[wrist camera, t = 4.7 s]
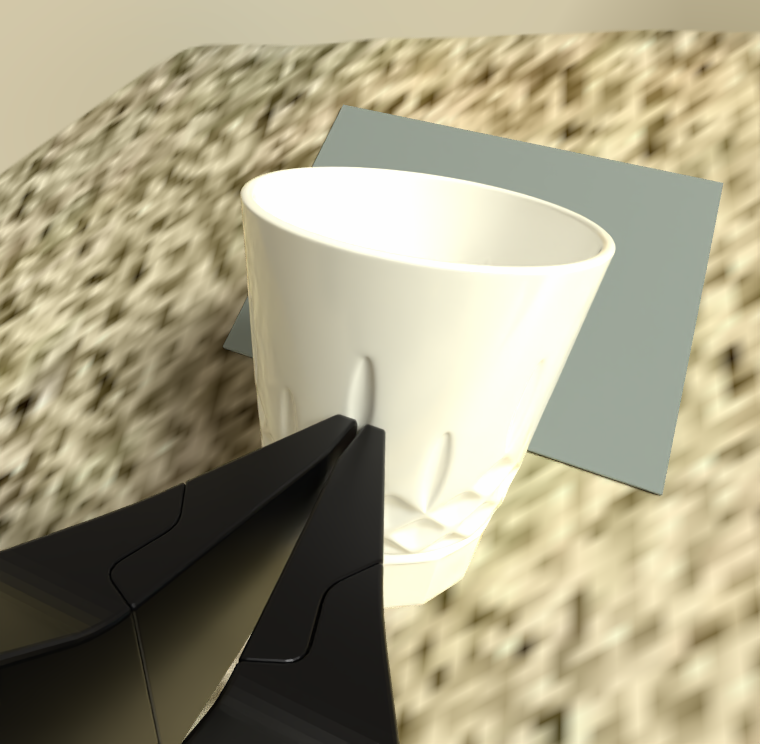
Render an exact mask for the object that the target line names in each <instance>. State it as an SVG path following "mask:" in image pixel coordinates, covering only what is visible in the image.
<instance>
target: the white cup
mask: <svg viewBox="0 0 760 744" xmlns="http://www.w3.org/2000/svg"><path fill="white" fill-rule="evenodd" d="M240 196H241V208H242V220H243V232H244V245H245V257H246V270H247V283H248V297H249V311H250V325H251V339H252V352H253V366H254V378H255V386H256V391H257V402H258V413H259V421H260V428H261V432H260V433H261V442H262V447H264V446H267V445H269V444H271V443H273V442H276V441H278V440H280V439H282V438H284V437H287V436H289V435H291V434H293V433H296V432H298V431H300V430H302V429H305V428H307V427H309V426H311V425H314V424H316V423H318V422H320V421H323V420H325V419H327V418H329V417H332V416H334V415H337V414H341V415H344V416H347V417H350V418H352V419H355V420H356V421H357V425H358V426H357V433H356V435H357V434H358V433H359V431H360V430H361V429H362V428H363V426H365V425H366V424H370V425H373V426H376V427H378V428H381V429H384V430H385V432H386V441H385V500H384V560H383V567H384V573H383V598H384V608H395V607H405V606H417V605H423V604H425V603H426V602H428V601H429V600H431V599H432V598H434V597H435V596H437V595H439V594H440V593H442V592H443V591H445V590H446V589H448V588H449V587H451V586H453V585H454V584H456V583H457V582H459V581H460V580H462V579H463V577H464V575H465V573H466V571H467V569H468V566H469V564H470V562H471V560H472V558H473V556H474V553H475V551H476V549H477V547H478V545H479V543H480V540H481V538H482V536H483V533H484V531H485V528H486V526H487V524H488V523H489V521H490V519H491V517H492V515H493V513H494V512H495V511H496V510H497V509H498V508H499V507H500V506H501V504H502V503H503V500H504V498H505V496H506V493H507V491H508V488H509V486H510V484H511V482H512V480H513V479H514V477H515V475H516V473H517V471H518V469H519V468H520V466H521V464H522V461H523V459H524V456H525V454H526V452H527V449H528V447H529V445H530V442H531V440H532V438H533V435H534V433H535V431H536V429H537V426H538V424H539V422H540V419H541V417H542V415H543V413H544V410H545V408H546V406H547V403H548V401H549V399H550V397H551V395H552V393H553V391H554V389H555V387H556V384H557V382H558V380H559V377H560V375H561V373H562V371H563V368H564V366H565V364H566V361H567V359H568V357H569V355H570V352H571V350H572V348H573V346H574V343H575V341H576V339H577V336H578V334H579V332H580V330H581V327H582V325H583V323H584V321H585V318H586V316H587V314H588V312H589V309H590V307H591V305H592V303H593V300H594V298H595V296H596V294H597V292H598V289H599V287H600V285H601V283H602V280H603V278H604V276H605V274H606V271H607V269H608V267H609V265H610V262H611V260H612V258H613V256H614V253H615V249H616V246H615V243H614V240H613V239H612V237H611V236H610V235H609V234H608V233H607V232H606V231H605V230H604V229H603V228H601V227H600V226H599V225H597V224H596V223H594V222H593V221H591V220H589V219H587V218H585V217H583V216H581V215H579V214H577V213H575V212H573V211H571V210H568V209H566V208H563V207H561V206H558V205H556V204H553V203H550V202H547V201H544V200H541V199H538V198H535V197H532V196H528V195H525V194H521V193H518V192H514V191H510V190H507V189H503V188H499V187H494V186H490V185H486V184H481V183H476V182H471V181H466V180H461V179H455V178H450V177H444V176H438V175H431V174H424V173H416V172H408V171H399V170H389V169H378V168H362V167H306V168H295V169H287V170H280V171H275V172H271V173H267V174H263V175H261V176H258V177H256V178H254V179H252V180H250V181H249V182H247V183H246V184H245V185H244V186H243V188H242V190H241V194H240Z"/></svg>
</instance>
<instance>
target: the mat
mask: <svg viewBox="0 0 760 744" xmlns="http://www.w3.org/2000/svg"><path fill="white" fill-rule="evenodd" d="M312 167H362V168H378V169H389V170H399V171H408V172H416V173H424V174H431V175H438V176H444V177H450V178H455V179H461V180H466V181H471V182H476V183H481V184H486V185H490V186H494V187H499V188H503V189H507V190H510V191H514V192H518V193H521V194H525V195H528V196H532V197H535V198H538V199H541V200H544V201H547V202H550V203H553V204H556V205H558V206H561V207H563V208H566V209H568V210H571V211H573V212H575V213H577V214H579V215H581V216H583V217H585V218H587V219H589V220H591V221H593V222H594V223H596V224H597V225H599V226H600V227H601V228H603V229H604V230H605V231H606V232H607V233H608V234H609V235H610V236H611V237H612V239H613V240H614V243H615V246H616V249H615V253H614V256H613V258H612V260H611V262H610V265H609V267H608V269H607V271H606V274H605V276H604V278H603V280H602V283H601V285H600V287H599V289H598V292H597V294H596V296H595V298H594V300H593V303H592V305H591V307H590V309H589V312H588V314H587V316H586V318H585V321H584V323H583V325H582V327H581V330H580V332H579V334H578V336H577V339H576V341H575V343H574V346H573V348H572V350H571V352H570V355H569V357H568V359H567V361H566V364H565V366H564V368H563V371H562V373H561V375H560V377H559V380H558V382H557V384H556V387H555V389H554V391H553V393H552V395H551V397H550V399H549V401H548V403H547V406H546V408H545V410H544V413H543V415H542V417H541V419H540V422H539V424H538V426H537V429H536V431H535V433H534V435H533V438H532V440H531V442H530V445H529V447H528V449H527V451H530V452H533V453H536V454H539V455H542V456H544V457H547V458H550V459H553V460H556V461H559V462H562V463H565V464H568V465H571V466H574V467H577V468H580V469H583V470H586V471H589V472H592V473H595V474H598V475H601V476H604V477H607V478H610V479H613V480H616V481H619V482H622V483H624V484H627V485H630V486H633V487H636V488H639V489H642V490H645V491H648V492H651V493H654V494H657V495H662V494H663V488H664V483H665V478H666V473H667V468H668V463H669V458H670V453H671V448H672V442H673V437H674V432H675V427H676V422H677V417H678V412H679V407H680V402H681V396H682V391H683V386H684V381H685V376H686V371H687V366H688V361H689V356H690V350H691V345H692V340H693V335H694V330H695V325H696V320H697V315H698V310H699V304H700V299H701V294H702V289H703V284H704V279H705V274H706V269H707V264H708V258H709V253H710V248H711V243H712V238H713V233H714V228H715V223H716V218H717V212H718V207H719V202H720V197H721V192H722V187H723V183H720V182H716V181H711V180H706V179H701V178H696V177H691V176H687V175H682V174H677V173H672V172H667V171H662V170H657V169H653V168H648V167H643V166H638V165H633V164H628V163H623V162H619V161H614V160H609V159H604V158H599V157H594V156H590V155H585V154H580V153H575V152H570V151H565V150H560V149H556V148H551V147H546V146H541V145H536V144H531V143H527V142H522V141H517V140H512V139H507V138H502V137H497V136H493V135H488V134H483V133H478V132H473V131H468V130H463V129H459V128H454V127H449V126H444V125H439V124H434V123H430V122H425V121H420V120H415V119H410V118H405V117H400V116H396V115H391V114H386V113H381V112H376V111H371V110H366V109H362V108H357V107H352V106H347V105H343V106H342V108H341V110H340V112H339V114H338V116H337V118H336V120H335V122H334V124H333V126H332V128H331V130H330V132H329V134H328V136H327V138H326V140H325V142H324V144H323V146H322V148H321V150H320V152H319V154H318V156H317V158H316V160H315V162H314V164H313V166H312ZM223 348H225V349H228V350H230V351H233V352H236V353H239V354H242V355H245V356H248V357H251V358H253V352H252V339H251V325H250V311H249V297H247V299H246V301H245V303H244V305H243V307H242V309H241V311H240V313H239V315H238V317H237V319H236V321H235V323H234V325H233V327H232V329H231V331H230V333H229V335H228V337H227V339H226V341H225V343H224V345H223Z"/></svg>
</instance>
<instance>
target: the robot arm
mask: <svg viewBox="0 0 760 744" xmlns="http://www.w3.org/2000/svg"><path fill="white" fill-rule="evenodd" d="M357 426H358V425H357V421H356V420H355V419H352V418H350V417H347V416H344V415H341V414H337V415H334V416H332V417H329V418H327V419H325V420H323V421H320V422H318V423H316V424H314V425H311V426H309V427H307V428H305V429H302V430H300V431H298V432H296V433H293V434H291V435H289V436H287V437H284V438H282V439H280V440H278V441H276V442H273V443H271V444H269V445H267V446H264V447H262V448H260V449H258V450H255V451H253V452H251V453H249V454H246V455H244V456H242V457H240V458H237V459H235V460H233V461H231V462H228V463H226V464H224V465H222V466H219V467H217V468H215V469H213V470H210V471H208V472H206V473H204V474H201V475H199V476H197V477H195V478H192V479H190V480H188V481H187V482H186V484H184V483H181V484H178V485H176V486H174V487H172V488H169V489H167V490H165V491H163V492H160V493H158V494H156V495H153V496H151V497H148V498H146V499H144V500H141V501H139V502H136V503H134V504H132V505H129V506H126V507H124V508H121V509H118V510H115V511H113V512H110V513H107V514H105V515H102V516H99V517H97V518H94V519H91V520H88V521H85V522H82V523H80V524H77V525H74V526H71V527H68V528H65V529H62V530H60V531H57V532H54V533H51V534H48V535H45V536H42V537H40V538H37V539H34V540H31V541H28V542H25V543H22V544H20V545H17V546H14V547H11V548H8V549H5V550H2V551H0V744H400V743H399V737H398V729H397V721H396V714H395V706H394V698H393V691H392V683H391V675H390V668H389V660H388V652H387V642H386V632H385V621H384V598H383V573H384V567H383V560H384V500H385V441H386V432H385V430H384V429H381V428H378V427H376V426H373V425H370V424H366V425H365V426H363V428H362V429H361V430H360V431H359V433H358V434H357V435H356V433H357ZM252 631H253V632H252ZM251 633H252V634H251ZM250 634H251V636H250ZM249 636H250V638H249ZM248 638H249V640H248V642H247V644H246V646H245V648H244V650H243V652H242V654H241V656H240V658H239V663H237V664H236V666H235V668H234V670H233V672H232V674H231V676H230V678H229V680H228V681H227V683H226V685H225V687H224V689H223V690H222V692H221V693H220V695H219V697H218V698H217V700H216V701H215V703H214V704H213V706H212V707H211V708H210V709H209V711H208V712H207V713H206V715H205V716H204V717H203V718H202V719H201V720H200V722H199V723H198V724H197V725H196V726H195V728H194V729H193V730H192V731H191V732H190V734H189V735H188V736H187V737H186V738H185V740H184V741H183V739H184V737H185V736H186V734H187V733H188V731H189V730H190V728H191V727H192V725H193V723H194V722H195V720H196V719H197V717H198V716H199V714H200V712H201V711H202V709H203V708H204V706H205V705H206V703H207V702H208V700H209V698H210V697H211V695H212V694H213V692H214V691H215V689H216V687H217V686H218V684H219V683H220V681H221V680H222V678H223V677H224V675H225V673H226V672H227V670H228V669H229V667H230V666H231V664H232V663H233V661H234V659H235V658H236V656H237V655H238V653H239V652H240V650H241V648H242V647H243V645H244V644H245V642H246V641H247V639H248ZM182 741H183V742H182ZM181 742H182V743H181Z"/></svg>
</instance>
